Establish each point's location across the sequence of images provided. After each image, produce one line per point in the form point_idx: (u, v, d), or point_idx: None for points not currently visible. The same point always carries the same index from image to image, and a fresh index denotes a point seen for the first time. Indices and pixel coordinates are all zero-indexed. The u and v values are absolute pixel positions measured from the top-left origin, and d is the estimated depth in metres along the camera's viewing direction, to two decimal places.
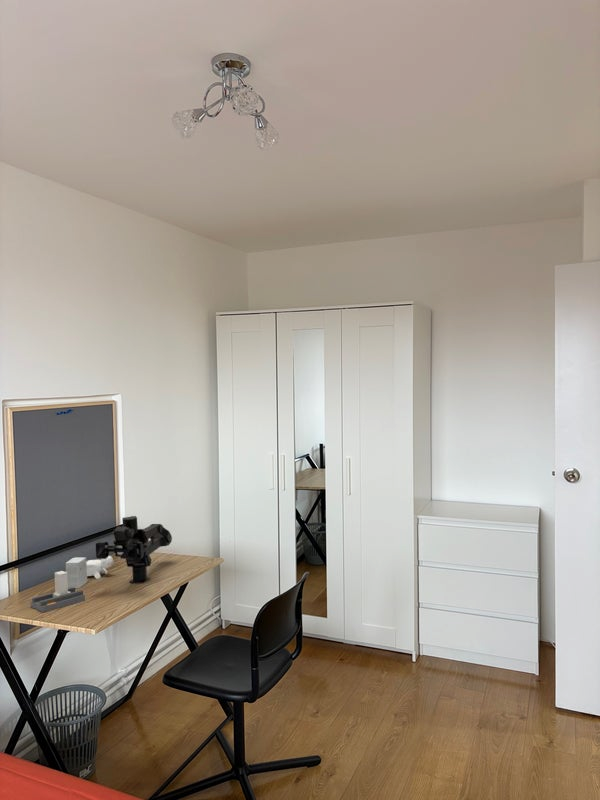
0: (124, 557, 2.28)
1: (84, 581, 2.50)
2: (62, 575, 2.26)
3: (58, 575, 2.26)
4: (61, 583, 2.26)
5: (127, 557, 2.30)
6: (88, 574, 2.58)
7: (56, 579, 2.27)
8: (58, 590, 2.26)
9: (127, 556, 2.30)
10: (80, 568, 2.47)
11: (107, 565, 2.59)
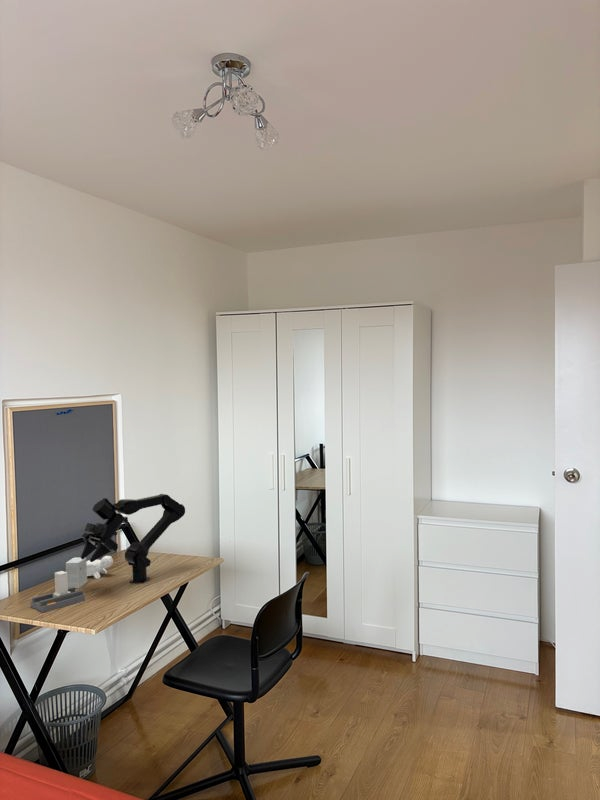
0: (95, 559, 2.34)
1: (84, 581, 2.50)
2: (62, 575, 2.26)
3: (58, 575, 2.26)
4: (61, 583, 2.26)
5: (99, 556, 2.35)
6: (88, 574, 2.58)
7: (56, 579, 2.27)
8: (58, 590, 2.26)
9: (98, 556, 2.34)
10: (80, 568, 2.47)
11: (107, 565, 2.59)
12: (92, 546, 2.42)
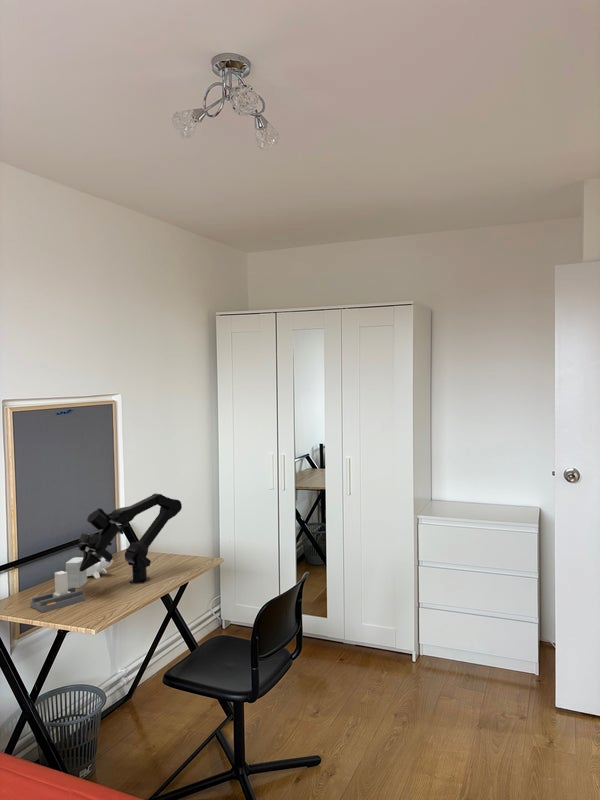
0: (85, 568, 2.34)
1: (84, 581, 2.50)
2: (62, 575, 2.26)
3: (58, 575, 2.26)
4: (61, 583, 2.26)
5: (89, 566, 2.35)
6: (87, 574, 2.58)
7: (56, 579, 2.27)
8: (58, 590, 2.26)
9: (88, 565, 2.35)
10: None
11: (107, 565, 2.59)
12: None
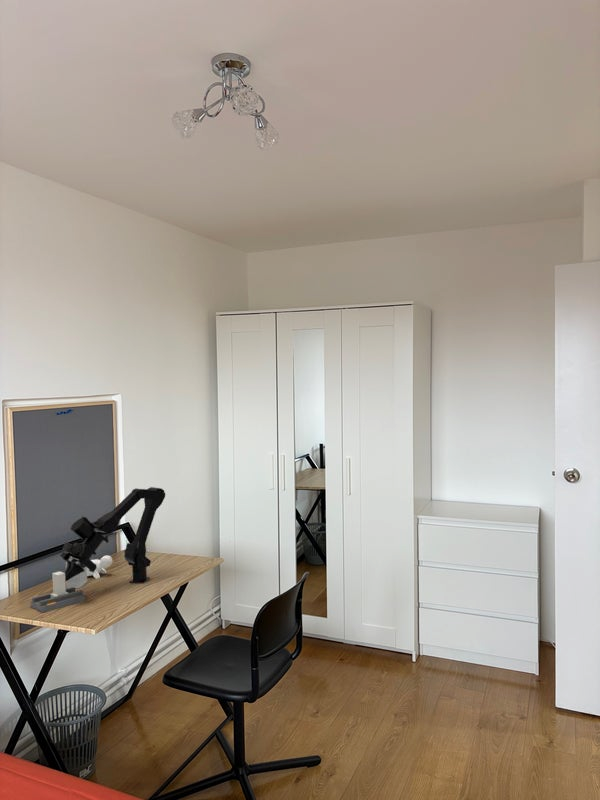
0: (68, 578, 2.29)
1: (84, 581, 2.50)
2: (60, 576, 2.26)
3: (56, 576, 2.26)
4: (59, 584, 2.25)
5: (72, 576, 2.30)
6: (87, 574, 2.59)
7: (54, 580, 2.27)
8: (56, 591, 2.26)
9: (72, 575, 2.30)
10: None
11: (106, 565, 2.59)
12: None
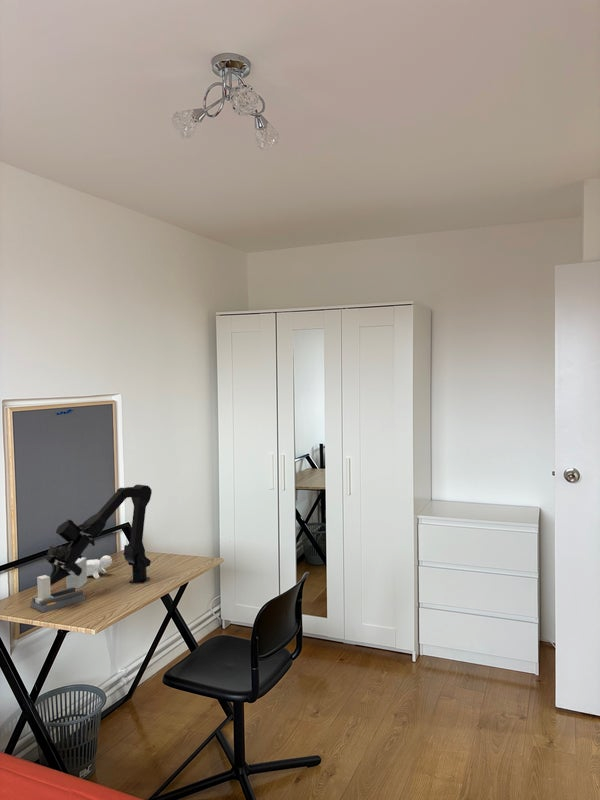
0: (53, 582, 2.25)
1: (84, 581, 2.50)
2: (45, 579, 2.22)
3: (40, 579, 2.21)
4: (43, 588, 2.21)
5: (57, 580, 2.26)
6: (87, 574, 2.59)
7: (38, 583, 2.23)
8: (41, 595, 2.22)
9: (57, 579, 2.26)
10: None
11: (106, 565, 2.59)
12: None
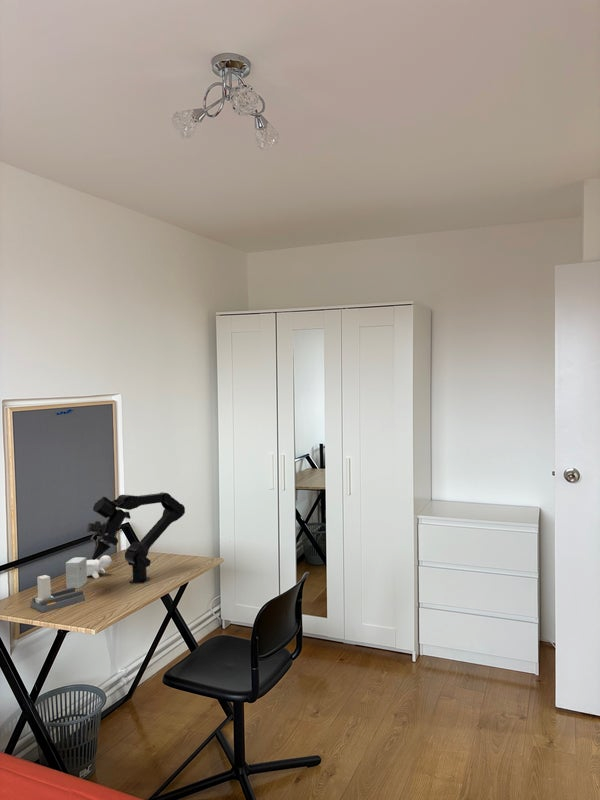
0: (97, 556, 2.38)
1: (84, 581, 2.50)
2: (45, 579, 2.22)
3: (41, 579, 2.21)
4: (44, 587, 2.21)
5: (100, 553, 2.38)
6: None
7: (39, 583, 2.23)
8: (41, 595, 2.22)
9: (99, 553, 2.38)
10: (80, 568, 2.47)
11: (105, 565, 2.60)
12: None
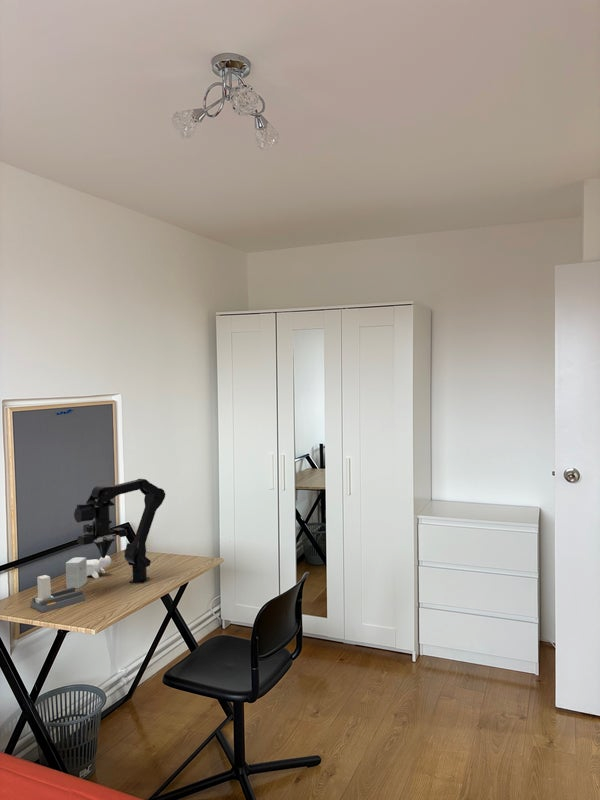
0: (102, 554, 2.40)
1: (84, 581, 2.50)
2: (45, 579, 2.22)
3: (41, 579, 2.21)
4: (44, 587, 2.21)
5: (101, 551, 2.39)
6: None
7: (39, 583, 2.23)
8: (41, 595, 2.22)
9: (101, 550, 2.39)
10: (80, 568, 2.47)
11: (105, 565, 2.60)
12: (105, 542, 2.41)
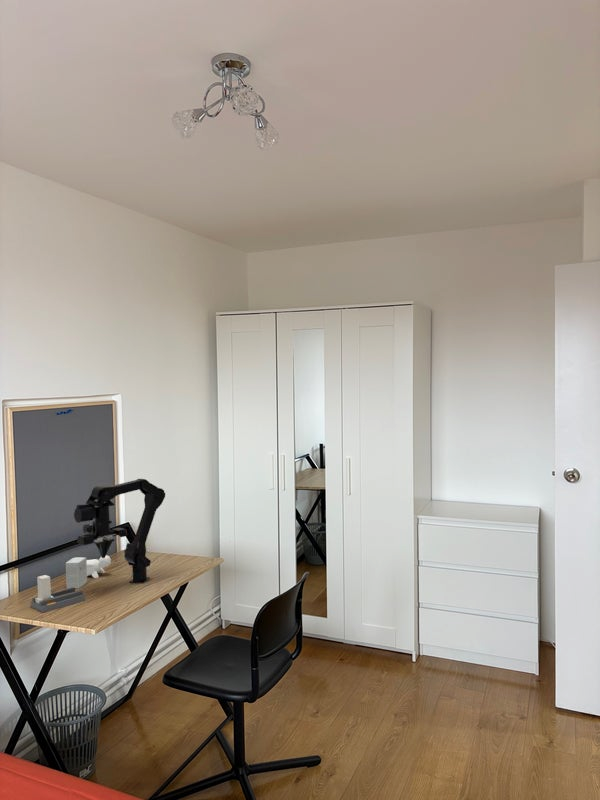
0: (102, 554, 2.40)
1: (84, 581, 2.50)
2: (45, 579, 2.22)
3: (41, 579, 2.21)
4: (44, 587, 2.21)
5: (101, 551, 2.39)
6: None
7: (39, 583, 2.23)
8: (41, 595, 2.22)
9: (101, 550, 2.39)
10: (80, 568, 2.47)
11: (105, 564, 2.60)
12: (105, 542, 2.41)
